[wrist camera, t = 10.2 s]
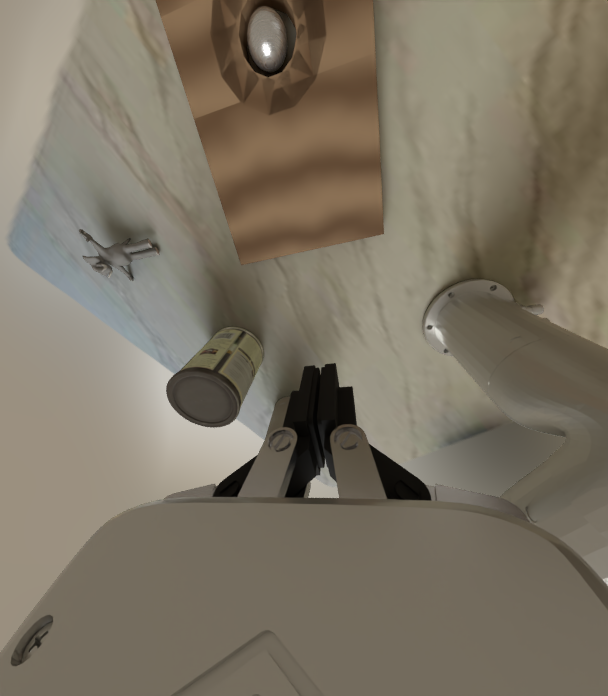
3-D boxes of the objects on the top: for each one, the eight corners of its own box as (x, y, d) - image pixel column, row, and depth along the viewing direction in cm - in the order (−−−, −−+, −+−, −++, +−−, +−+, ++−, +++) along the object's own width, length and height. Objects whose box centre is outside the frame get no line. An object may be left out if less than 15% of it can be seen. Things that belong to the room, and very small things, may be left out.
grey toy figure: (174, 282, 39) (119, 297, 38) (170, 255, 41) (117, 270, 40) (133, 233, 30) (58, 251, 29) (130, 202, 32) (60, 218, 31)
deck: (380, 232, 32) (383, 233, 30) (246, 262, 36) (241, 265, 34) (360, -135, 19) (364, -179, 17) (156, -28, 23) (138, -54, 21)
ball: (279, -17, 21) (283, 34, 21) (289, 36, 25) (293, 78, 25) (238, -3, 21) (242, 46, 22) (254, 47, 25) (257, 88, 26)
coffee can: (235, 380, 48) (202, 436, 36) (200, 341, 44) (150, 389, 32) (275, 360, 44) (253, 414, 32) (241, 316, 41) (202, 358, 28)
